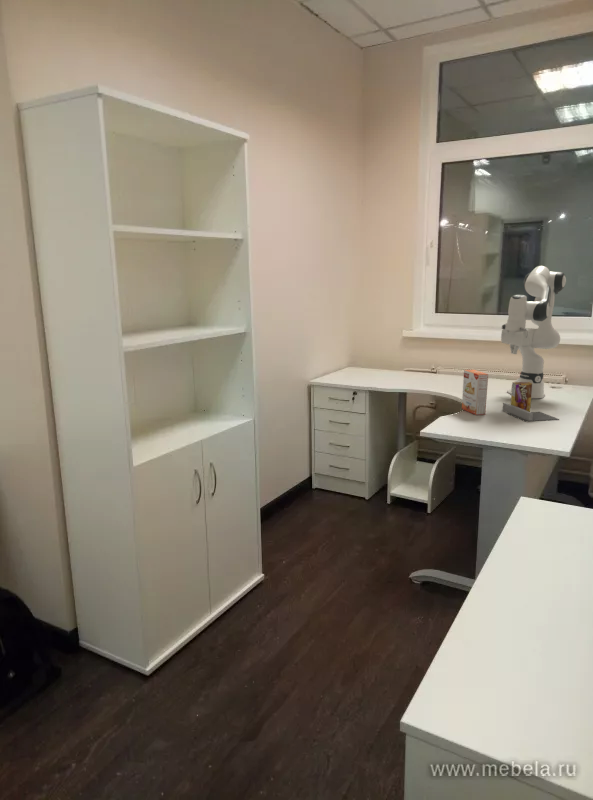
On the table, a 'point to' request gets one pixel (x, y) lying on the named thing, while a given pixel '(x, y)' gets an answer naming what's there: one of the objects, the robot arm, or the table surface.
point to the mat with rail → (526, 414)
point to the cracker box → (474, 392)
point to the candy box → (521, 395)
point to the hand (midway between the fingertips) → (513, 353)
